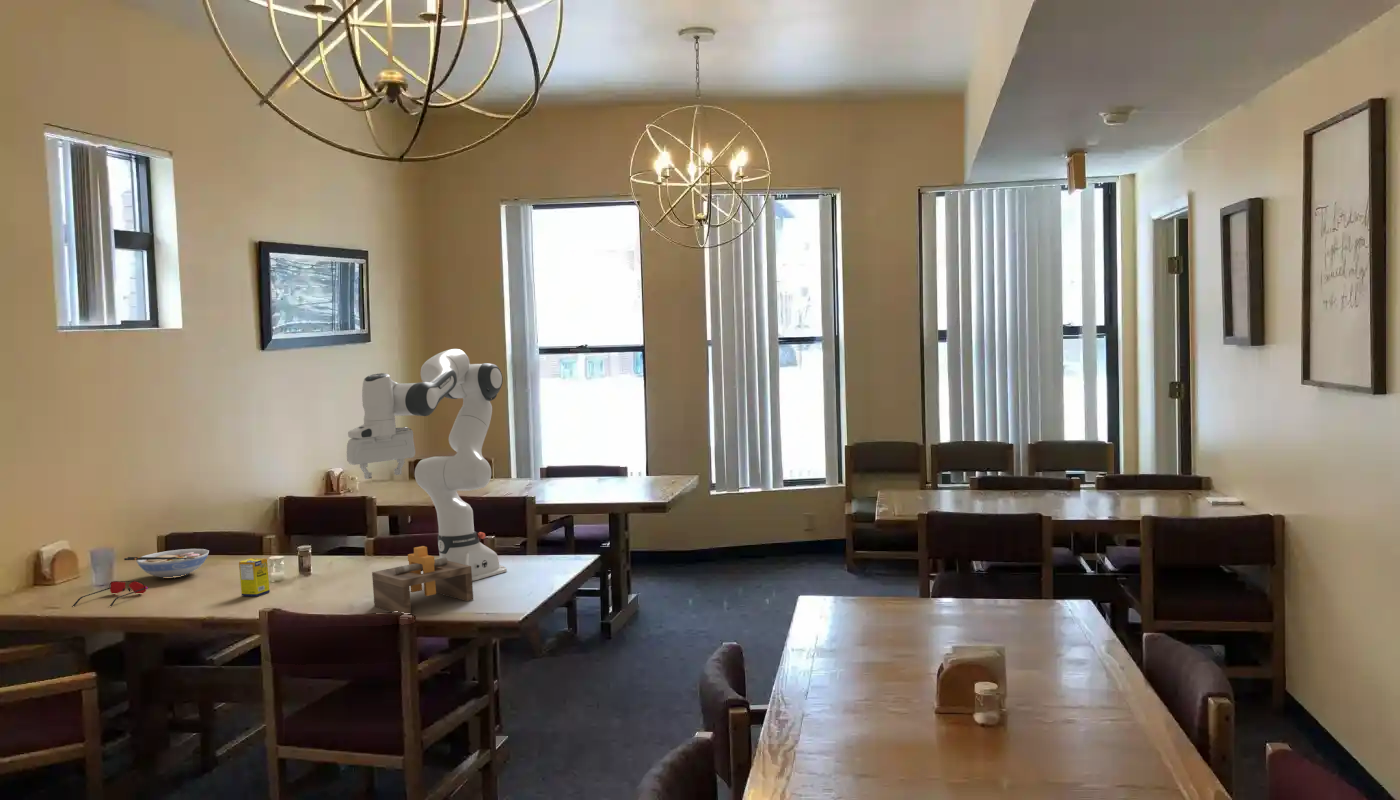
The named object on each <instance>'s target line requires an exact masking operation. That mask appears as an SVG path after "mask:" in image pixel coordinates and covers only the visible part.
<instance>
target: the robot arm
mask: <svg viewBox="0 0 1400 800" xmlns="http://www.w3.org/2000/svg"><path fill="white" fill-rule="evenodd" d="M420 379H421V381H419V382H411V383H410V382H407V383H406V382H405V383H402V382H401V383H399V382H396V381H394V380H393V379H392V378H391V375H390V374H389V373H384V372H383V373H382V372H381V373H375V374H369V375H368V376H366V377H365V378H364V379H363V382H362V391H361V397H362V398H361V399H362V401H361V402H362V407H363V410H364V416H363V424H361V425H359V426H357V427H354V428H352V429H350V430H349V431H348V433H347V435H348V438H349V440H348V442H347V445H346V461H347V462H348V464H350V465H353V466H355V465H357V466H358V465H359V468H360V470H361V471H362V472H363V476H364V479H365V480H368V479H369V480H370V479H372V478H373V475H372V474H373V472H371V471H369V470H368V466H369V465H368V464H372V463H378V462H386V461H394V460H396V462H397V463H398V464H397V466H396V468H393V470H394V471H393V474H394V476H400V475H402V472H403V471H402V468H403V466H404V465H405V459H410V458H411V459H412V458H414V457H415V455H416V446H415V442H414V431H413V430H412V429H411V428H410V427H408V426H403V427H396V417H397V416H399V417H400V416H402V417H403V416H404V417H405V416H416V417H417V416H418V417H428V416H430V415H432V413H434V411H435V410H436V409H437V406H438V405H439V403H440V402H441V401H442V400H443V399H444V398H446V399H449V400H450V399H451V400H457V399H462V401H463V402H462V406H461V408H460V409H459V411H458V413H457V415H456V418H455V420H454V422H453V425H452V428H451V429H450V432H449V435H448V443H449V446H450V448H451V449H452V450H454V451H455V452H456V453H455V454H454V455H452V456H451V455H449V456H448V455H446V456H444V455H442V456H440V455H439V456H431V457H427V458H423V459H421V460H420V461H418V463H417V464H416V466H415V468H414V478H415V482H416V484H417V485H418V487H420V488H421V489H422V490H423V491H424V492H425V493H427V495H428V496H429V497H430V500H431V501H432V503H433V505H434V507H435V511H436V512H435V513H436V516H437V525H438V534H437V545H438V548H437V549H438V553H439V557H438V559H440V558H445V557H446V558H447V560H448V561H451V562H456V563H460V564H464V565H469V566H471V571H472V582H473V581H478V580H482V579H485V578H488V577H492V576H495V575H499V574H502V573H506V572H508V570H507V567H506V566H504V565H501V564H500V561H499V560H500V559H499V556H498V554H497V552H496V551H494V550H493V549H491V548H490V547H488V546H487V545H484V543H482V542H480V541H481V540H484V539H486V533H485V532H482V531H479V532H477V531H475V526H474V510H473V508H472V507H471V504H469V503H467V502H466V501H464V500H463V499H462V498H461V496H459V495H460V494H458V491H462V492H463V491H464V492H465V491H470V492H472V491H475V490H481V489H484V488H485V487H487V486H488V484H489V483H490V481H491V478H492V468H491V465H490V463H489V462H488V460H487V459H486V458H485V457H484V456H483V453H482V452H483V445H484V442H485V439H486V436H487V433H488V430H489V428H490V424H491V419H492V415H493V406H492V403H491V402H492V401H494V400H495V399H496V398H497V396H498V393H499V392H500V391H501V389H502V386H503V374H502V371H501V369H500V367H498V365H496V364H494V363H487V362H484V363H471V362H470V357H469V356H468V355H467V354H466V352H465V351H463V350H462V349H460V348H450V349H447V350H444V351H441V352H439V353H436V354H435V355H433V356H432V357H430V358H428V359H427V360H426V361H424V363H423V364H422V366H421V368H420ZM480 539H481V540H480Z"/></svg>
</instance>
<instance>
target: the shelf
mask: <svg viewBox="0 0 1400 800" xmlns="http://www.w3.org/2000/svg"><path fill="white" fill-rule="evenodd" d="M434 560H435V563H434V570H435V571H433V572H429V573H424V574H423V573H421V574H416V573H413V572H411V571H415V570H420V569H421V572H423V565H422V564H418V563H415V564H410V565H409V564H405V565H400V566H396V567H392V568H387V569H386V568H385V569H382V570H376V571H372V572H371V574H372V575H371V577H372V587H373V588H372V589H373V603H374V605H373V606H374V607H375V608H378V609H383V610H386V611H389V612H391V611H398V612H404V613H411V614H412V605H411V593H410V592H411V586H412V585H417V584H422V585H423V584H424V583H426V582H431V581H435V585H436V594H440V595H443V594H444V595H443V596H446V595H447V597H450V596H451V598H454V599H457V598H458V600H461V599H462V601H466V602H470V601H469V600H471V601H474V591H473V581H472V571H471V566H469V565H464V564H460V563H456V562H451V561H448V560H447V558H446V557H445V558H440V559H439V558H436V559H435V558H434Z"/></svg>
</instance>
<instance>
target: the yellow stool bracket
mask: <svg viewBox="0 0 1400 800" xmlns="http://www.w3.org/2000/svg"><path fill="white" fill-rule="evenodd" d="M407 561H408V565H410V564H415V563H418V564H422V565H423V571H421V569H420V570H415V571H411V572H413V573H416V574H424V573H429V572H433V571H435V570H434V563H435V556H434V555H429V554H428V547H427V546H425V545H421V546H416V547H413V553H409V554H407ZM423 590H424V591H423ZM420 591H423V592H424V596H426V597H429V596H433V595H437V593H436V585H435V581H431V582H426V583H422V584H417V585H412V586H410V592H411V593H415V592H420Z"/></svg>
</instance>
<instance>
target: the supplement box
mask: <svg viewBox="0 0 1400 800" xmlns="http://www.w3.org/2000/svg"><path fill="white" fill-rule="evenodd" d="M238 568H239V580H240V592H241V593H240V594H241V596H242V595H244V596H243V597H255V596H257V597H259V595H260V596H263V595H265V594H270V591H271V589H270V579H269V578H270V577H269V566H268V558H263V557H262V558H259V557H251V558H247V559H244V560H240V561H239V562H238Z"/></svg>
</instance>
